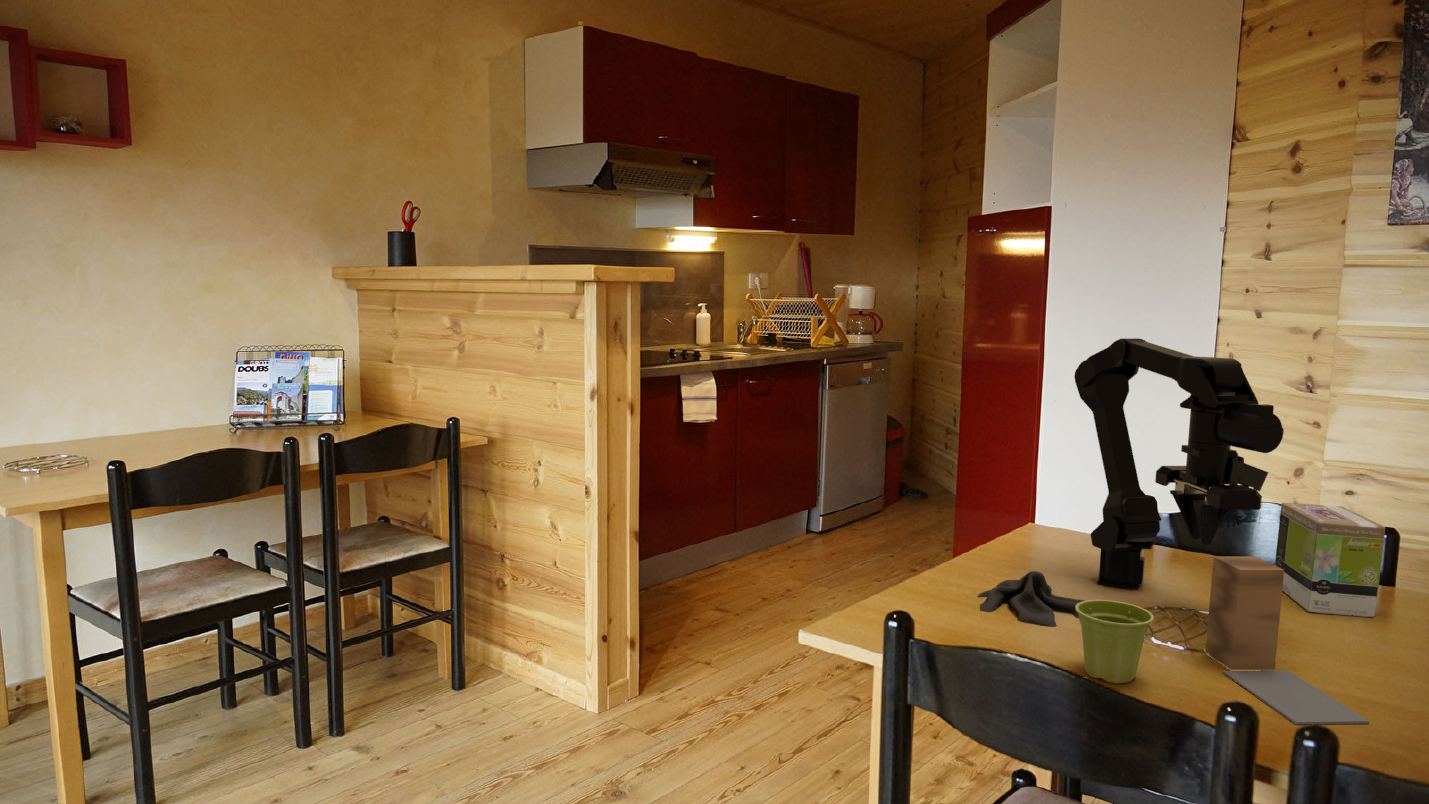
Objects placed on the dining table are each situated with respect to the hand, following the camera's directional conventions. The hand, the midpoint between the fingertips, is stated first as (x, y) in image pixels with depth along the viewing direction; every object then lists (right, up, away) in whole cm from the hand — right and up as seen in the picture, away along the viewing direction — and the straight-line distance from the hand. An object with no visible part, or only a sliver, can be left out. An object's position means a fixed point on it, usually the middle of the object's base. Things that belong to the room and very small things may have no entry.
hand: (1200, 541), depth 144 cm
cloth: (-25, -12, +6) cm, 28 cm away
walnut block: (-3, -14, -16) cm, 21 cm away
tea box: (+25, -11, +10) cm, 30 cm away
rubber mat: (-2, -16, -26) cm, 31 cm away
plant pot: (-23, -15, -20) cm, 34 cm away
